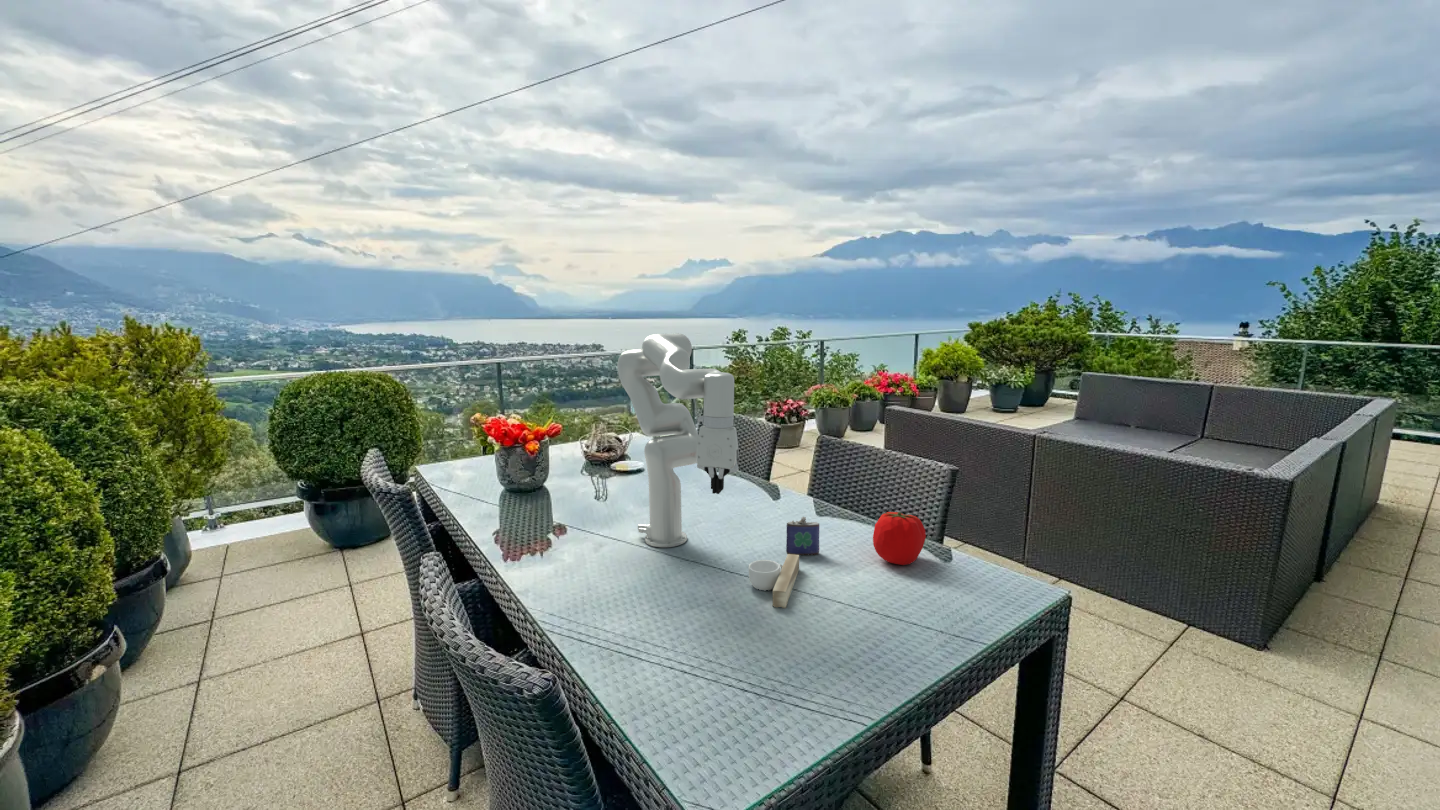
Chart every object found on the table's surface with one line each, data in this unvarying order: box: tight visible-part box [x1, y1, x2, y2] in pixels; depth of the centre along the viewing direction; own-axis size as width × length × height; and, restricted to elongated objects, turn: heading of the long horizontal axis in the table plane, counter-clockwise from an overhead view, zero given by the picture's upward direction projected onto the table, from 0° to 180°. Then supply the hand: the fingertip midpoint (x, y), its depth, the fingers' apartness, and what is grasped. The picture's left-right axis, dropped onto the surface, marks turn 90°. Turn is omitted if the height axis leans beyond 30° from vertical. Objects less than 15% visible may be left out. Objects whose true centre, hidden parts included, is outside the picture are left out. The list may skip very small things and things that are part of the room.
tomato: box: [872, 511, 927, 566], centre depth 158 cm, size 16×14×14 cm
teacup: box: [748, 559, 783, 592], centre depth 144 cm, size 10×8×5 cm
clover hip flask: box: [785, 516, 820, 556], centre depth 164 cm, size 9×3×11 cm, turn 88°
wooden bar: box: [772, 554, 800, 609], centre depth 143 cm, size 3×22×4 cm, turn 164°
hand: (717, 492), depth 149 cm, fingers closed
